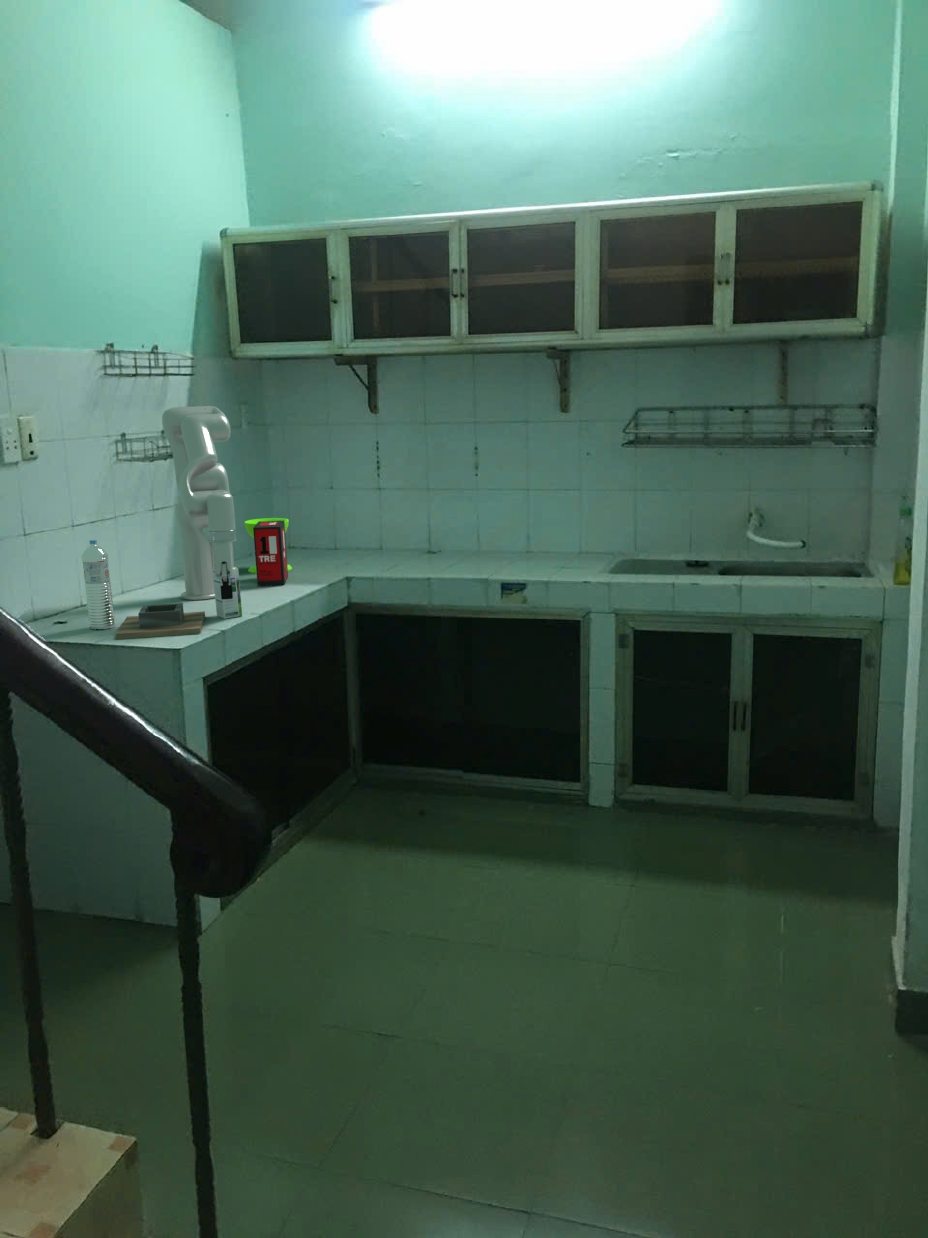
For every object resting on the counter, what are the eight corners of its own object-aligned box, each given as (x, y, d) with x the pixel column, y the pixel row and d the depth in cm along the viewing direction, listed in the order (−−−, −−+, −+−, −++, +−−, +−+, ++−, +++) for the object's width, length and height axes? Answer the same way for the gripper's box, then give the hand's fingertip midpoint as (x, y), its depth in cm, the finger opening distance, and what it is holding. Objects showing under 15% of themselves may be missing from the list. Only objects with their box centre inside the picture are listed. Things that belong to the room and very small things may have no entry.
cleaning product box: (284, 585, 340) (280, 526, 335) (257, 586, 339) (253, 527, 335) (288, 576, 356) (284, 520, 351) (262, 577, 355) (258, 521, 351)
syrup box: (224, 619, 291) (220, 570, 288) (216, 615, 296) (212, 567, 293) (242, 616, 295) (238, 567, 291) (234, 613, 299) (230, 565, 296)
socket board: (127, 621, 292) (125, 602, 291) (205, 616, 296) (203, 598, 295) (116, 639, 271) (114, 619, 270) (200, 633, 275) (198, 613, 274)
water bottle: (99, 624, 289) (90, 538, 284) (120, 625, 287) (111, 538, 282) (84, 629, 283) (74, 541, 277) (105, 630, 281) (95, 542, 275)
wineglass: (299, 566, 376) (296, 518, 372) (280, 573, 362) (276, 524, 357) (260, 565, 381) (256, 517, 377) (240, 572, 366) (236, 523, 362)
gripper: (211, 532, 298) (216, 591, 302) (207, 541, 281) (213, 603, 285) (236, 531, 299) (241, 589, 303) (235, 539, 282) (240, 601, 286)
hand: (227, 595), depth 294 cm, fingers closed on syrup box, 7 cm apart
